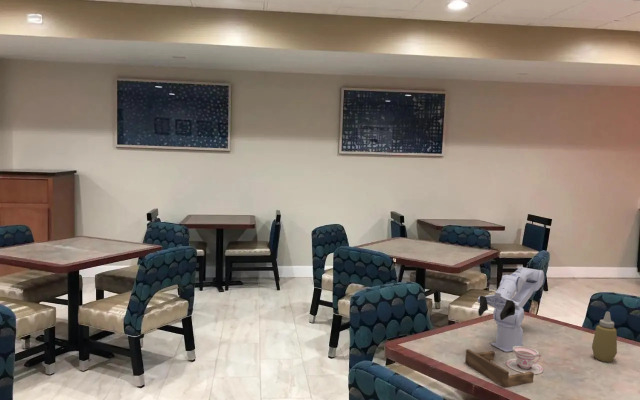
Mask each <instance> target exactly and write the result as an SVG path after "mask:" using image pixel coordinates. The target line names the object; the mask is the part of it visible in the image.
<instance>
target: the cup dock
mask: <svg viewBox="0 0 640 400" xmlns="http://www.w3.org/2000/svg"><path fill="white" fill-rule="evenodd" d="M495 355H496V353H495V351H493V350H490V351H484V352H478V353H477V352H475V351H472V350H471V349H469V348H467V349H466V350H465V359H464V364H465V365H468V367H471V368H473V369H474V370H475V371H477V372H478V373H480V374H481V375H484V376H485V377H487V378H488V379H489V380H492V381H493V382H495V383H497V384H498V385H499V386H502V387H503V388H511V387H514V386H519V385H524V384H531V383H533V382H534V375H535V374H534V373H533V372H526V373H521V372H519V373H516V374H511V375H510V373H509V370H506V369H505V368H503V367H501V366H499V365H497V364H496V363H494V362H493V361H495V358H496V357H495Z"/></svg>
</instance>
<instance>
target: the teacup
mask: <svg viewBox="0 0 640 400" xmlns="http://www.w3.org/2000/svg"><path fill="white" fill-rule="evenodd" d="M513 350H514V351H513V352H514V353H515V355H516V358H509V359H507V360H506V362H505V364H506V366H507V367H508V368H509V369H511V370H513V371H515V372H518V373H526V372H533V373H534V375H539V374H542V373H543V372H544V368H543V366H541V365H540V364H539V362H540V360H541V357H542V355H540V354H539V353H540V352H539V351H538V350H536V349H535V348H531V347H528V346H525V345H524V346H523V345H522V346H515V347H513ZM537 357H538V359H537V360H536V361H535V362H534V360H535V359H536V358H537ZM530 368H531V369H530Z"/></svg>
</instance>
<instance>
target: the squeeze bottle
mask: <svg viewBox="0 0 640 400" xmlns="http://www.w3.org/2000/svg"><path fill="white" fill-rule="evenodd" d="M611 317H612V316H611V312H610V311H606V312H605V314H604V316H603V319H599V324H598V325H596V326H595V332H594V335H593V339H592V345H591V350H592V353H593V357H594V358H595V359H597V360H598V361H601V362H605V361H606V362H607V363H610V362H611V361H612V362H613V361H614V360H615V357H616V355H617V353H618V342H617V341H618V340H617V339H618V338H617V336H618V335H617V334H618V333H617V332H618V331H617V328H615V322H614V321H613V320H612V319H611Z"/></svg>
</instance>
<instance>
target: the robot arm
mask: <svg viewBox="0 0 640 400" xmlns="http://www.w3.org/2000/svg"><path fill="white" fill-rule="evenodd" d="M544 279H545V273H544V270H543V269H534V268H528V267H524V266H519V267H517V269H516V270H515V271H514V272H512V273H511V274H503V275H502V276H501V280H500V282H499V286H498V287H497V289H496V291H495V292H494V294H488V295H480V296H478V297H477V303H478V304H479V308H478V311H477V313H478V316H483V314H484V313H485V312H486V311H488V310H489V307H492V308H494V309H493V313H492V315H493V316H492V317H493V320H494V321H495V324H496V335H495V336H496V338H495V342H491V343H490V345H491V346H493V347H495V348H497V349H499V350H501V351H503V352H505V353H508V352H514V350H513V347H515V346H523V341H524V330H523V327H522V324H523V321H524V318H525V311H524V308H523V307H524V306H525V305H526V303H527V302H528V300H530V298H531V297H532V296H533V294H534V293H535V292H536V291H539V290H540V289H541V287H542V286H543V284H544Z"/></svg>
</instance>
